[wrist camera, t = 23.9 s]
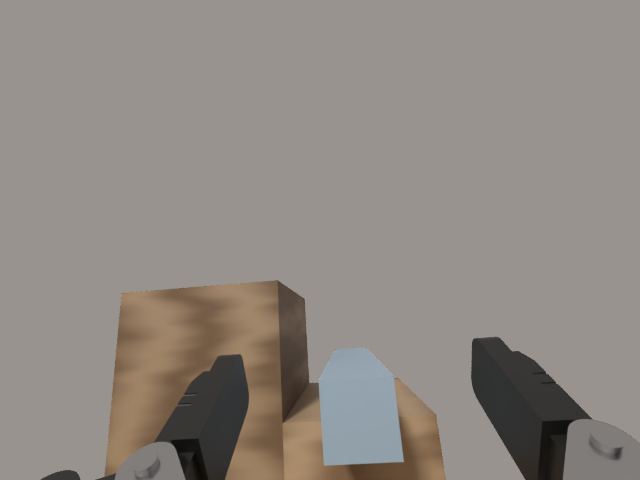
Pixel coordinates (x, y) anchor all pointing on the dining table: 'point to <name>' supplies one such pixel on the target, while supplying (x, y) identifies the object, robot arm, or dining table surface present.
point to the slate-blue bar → (358, 410)
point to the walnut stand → (262, 378)
